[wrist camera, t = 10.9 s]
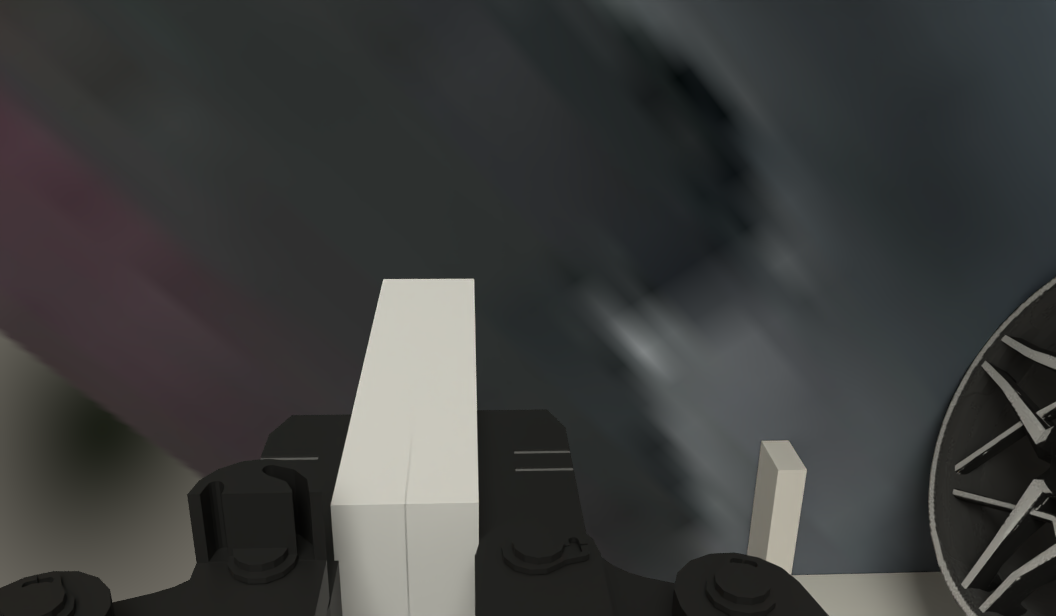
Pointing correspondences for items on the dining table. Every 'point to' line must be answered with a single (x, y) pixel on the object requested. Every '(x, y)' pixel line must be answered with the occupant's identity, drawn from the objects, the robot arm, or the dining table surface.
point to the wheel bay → (849, 599)
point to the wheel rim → (1001, 471)
